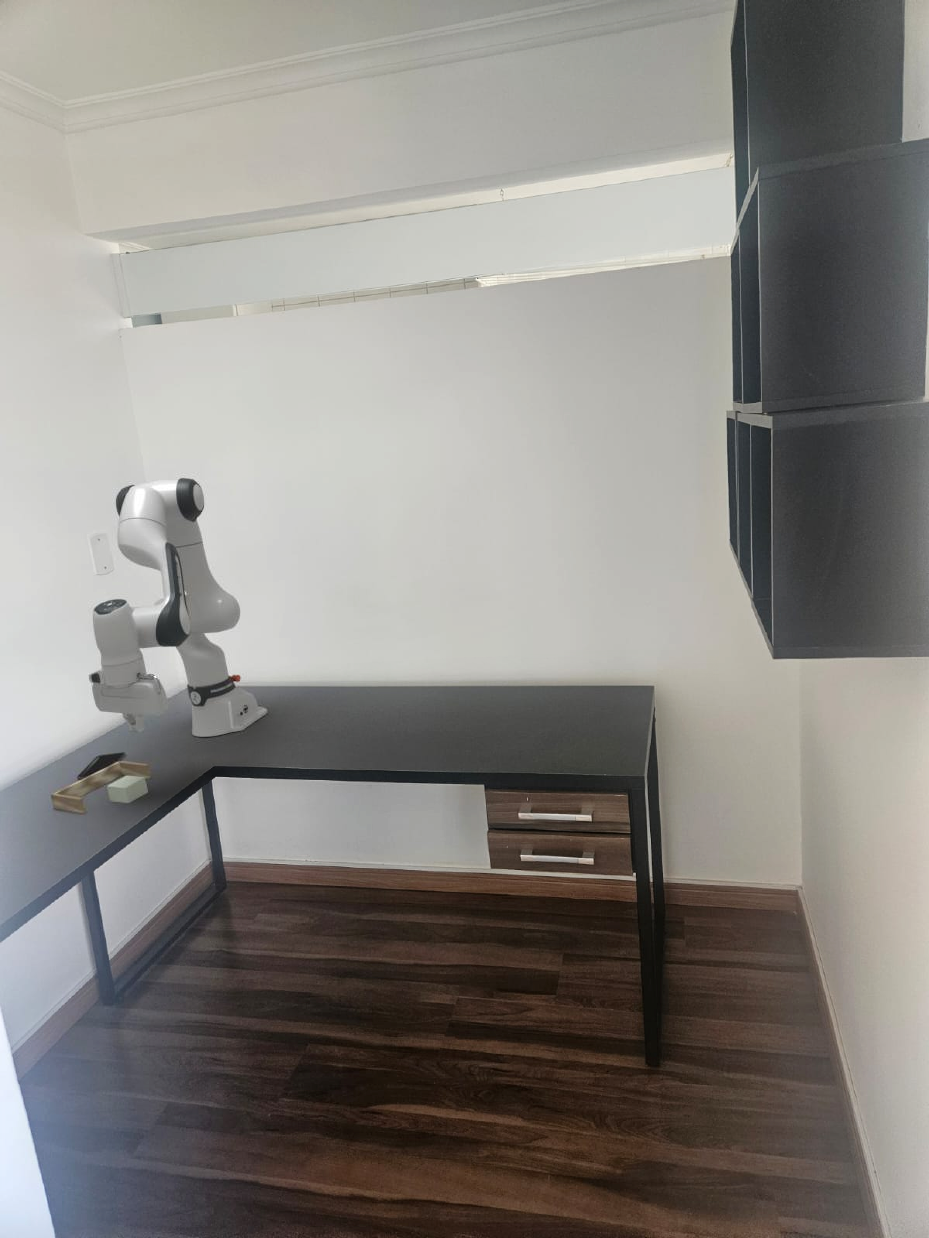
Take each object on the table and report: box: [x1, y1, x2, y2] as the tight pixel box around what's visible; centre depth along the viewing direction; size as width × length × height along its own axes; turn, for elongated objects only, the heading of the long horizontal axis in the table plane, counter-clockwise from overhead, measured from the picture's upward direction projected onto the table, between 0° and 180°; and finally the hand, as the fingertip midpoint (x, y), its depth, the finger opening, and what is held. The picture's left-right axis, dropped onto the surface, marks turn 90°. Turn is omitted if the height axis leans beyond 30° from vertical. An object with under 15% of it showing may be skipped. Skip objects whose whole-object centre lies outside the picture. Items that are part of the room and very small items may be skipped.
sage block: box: [106, 776, 149, 804], centre depth 203 cm, size 6×6×4 cm
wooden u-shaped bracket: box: [50, 760, 152, 814], centre depth 208 cm, size 20×10×4 cm, turn 152°
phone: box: [76, 751, 126, 781], centre depth 226 cm, size 8×1×15 cm
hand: (137, 730), depth 196 cm, fingers closed
